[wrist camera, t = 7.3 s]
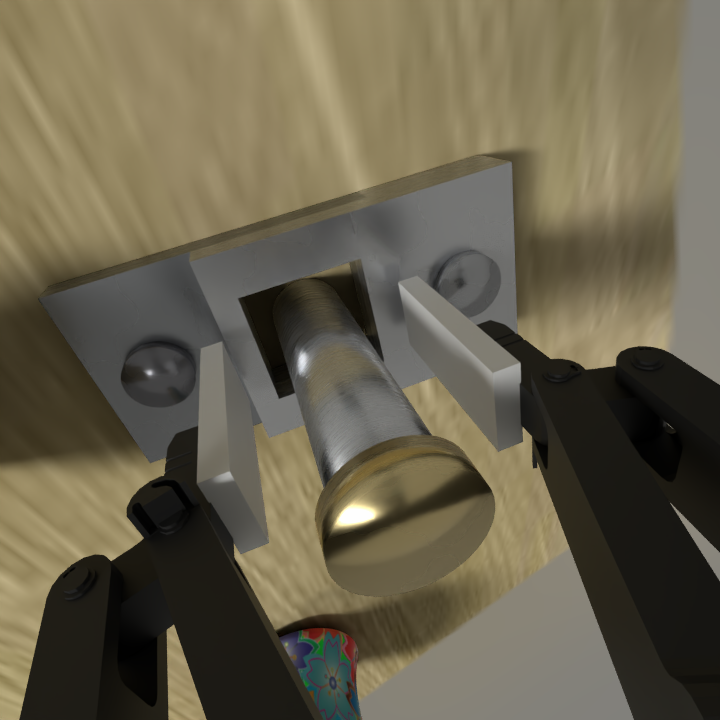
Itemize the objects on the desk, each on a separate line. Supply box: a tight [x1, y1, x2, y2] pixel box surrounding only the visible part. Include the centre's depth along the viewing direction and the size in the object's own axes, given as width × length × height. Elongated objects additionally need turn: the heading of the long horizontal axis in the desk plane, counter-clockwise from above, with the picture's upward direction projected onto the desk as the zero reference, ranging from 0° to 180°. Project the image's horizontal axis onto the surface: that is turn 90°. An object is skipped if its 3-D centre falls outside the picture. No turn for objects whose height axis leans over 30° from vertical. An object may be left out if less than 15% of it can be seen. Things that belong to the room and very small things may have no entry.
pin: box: [273, 279, 495, 597], centre depth 14 cm, size 4×4×12 cm
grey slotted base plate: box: [38, 155, 517, 463], centre depth 18 cm, size 8×17×3 cm, turn 103°
